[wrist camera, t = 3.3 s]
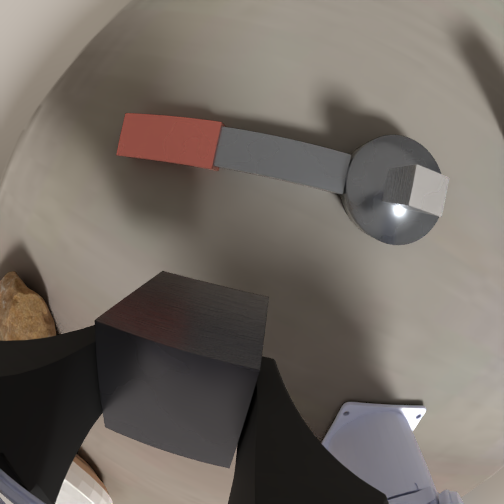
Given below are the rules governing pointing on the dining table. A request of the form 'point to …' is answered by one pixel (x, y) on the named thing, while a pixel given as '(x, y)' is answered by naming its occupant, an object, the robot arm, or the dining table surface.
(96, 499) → the bowl
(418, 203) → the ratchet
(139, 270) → the dining table surface
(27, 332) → the stone
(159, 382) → the dark grey textured cube
